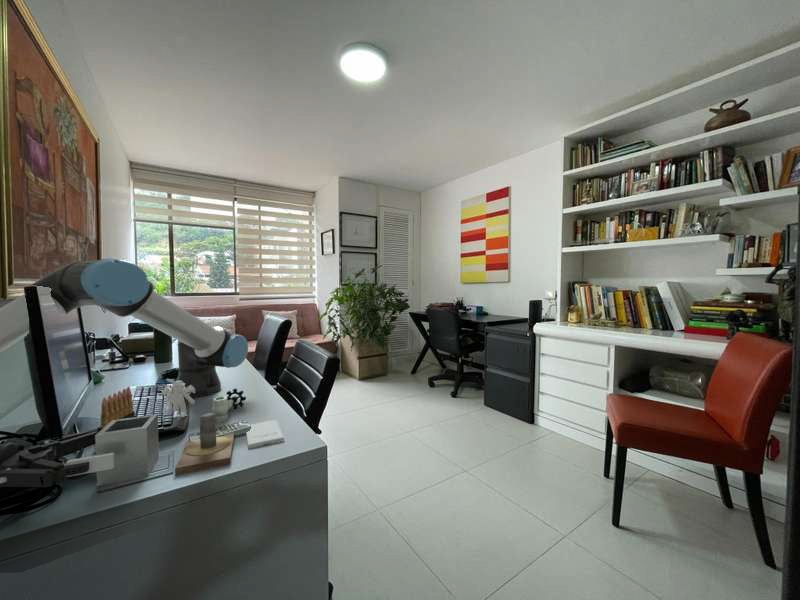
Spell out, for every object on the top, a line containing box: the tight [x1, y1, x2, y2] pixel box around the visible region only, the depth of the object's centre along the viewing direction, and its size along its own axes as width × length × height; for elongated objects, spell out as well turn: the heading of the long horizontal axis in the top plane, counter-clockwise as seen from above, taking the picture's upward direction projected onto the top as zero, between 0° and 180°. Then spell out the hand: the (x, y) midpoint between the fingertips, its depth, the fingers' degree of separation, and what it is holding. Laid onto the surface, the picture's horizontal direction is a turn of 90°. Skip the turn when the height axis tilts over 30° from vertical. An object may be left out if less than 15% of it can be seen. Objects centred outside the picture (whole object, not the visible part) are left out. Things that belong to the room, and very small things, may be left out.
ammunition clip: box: [99, 386, 136, 428], centre depth 83 cm, size 11×2×12 cm, turn 10°
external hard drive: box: [245, 419, 285, 450], centre depth 84 cm, size 2×8×12 cm
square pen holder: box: [94, 413, 160, 487], centre depth 67 cm, size 8×8×10 cm
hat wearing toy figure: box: [161, 378, 195, 413], centre depth 97 cm, size 9×4×12 cm, turn 97°
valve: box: [211, 388, 247, 424], centre depth 97 cm, size 7×7×12 cm
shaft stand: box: [174, 412, 235, 476], centre depth 75 cm, size 16×10×9 cm, turn 24°
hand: (127, 444), depth 67 cm, fingers open, 13 cm apart
